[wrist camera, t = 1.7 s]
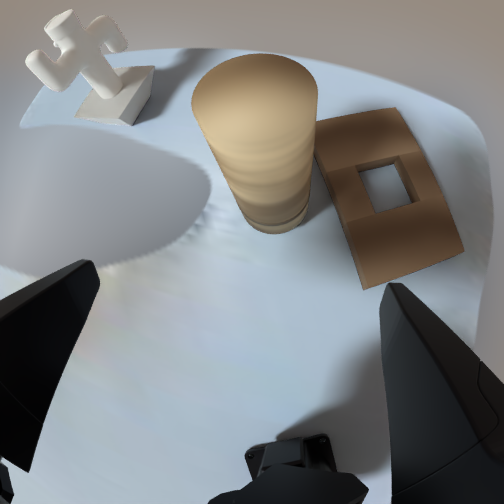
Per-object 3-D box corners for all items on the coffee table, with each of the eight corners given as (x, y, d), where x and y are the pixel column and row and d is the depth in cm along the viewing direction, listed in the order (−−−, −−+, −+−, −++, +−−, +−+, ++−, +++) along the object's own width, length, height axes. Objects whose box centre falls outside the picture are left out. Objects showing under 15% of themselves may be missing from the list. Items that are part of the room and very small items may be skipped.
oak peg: (316, 228, 22) (339, 121, 9) (252, 247, 22) (202, 158, 10) (296, 172, 23) (292, 44, 11) (236, 189, 24) (184, 73, 11)
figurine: (171, 80, 28) (117, -22, 13) (130, 147, 26) (42, 48, 12) (125, 80, 29) (67, -2, 15) (86, 141, 28) (4, 64, 13)
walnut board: (455, 255, 20) (464, 251, 18) (363, 290, 20) (368, 288, 19) (391, 116, 23) (395, 107, 22) (304, 134, 24) (304, 123, 22)
